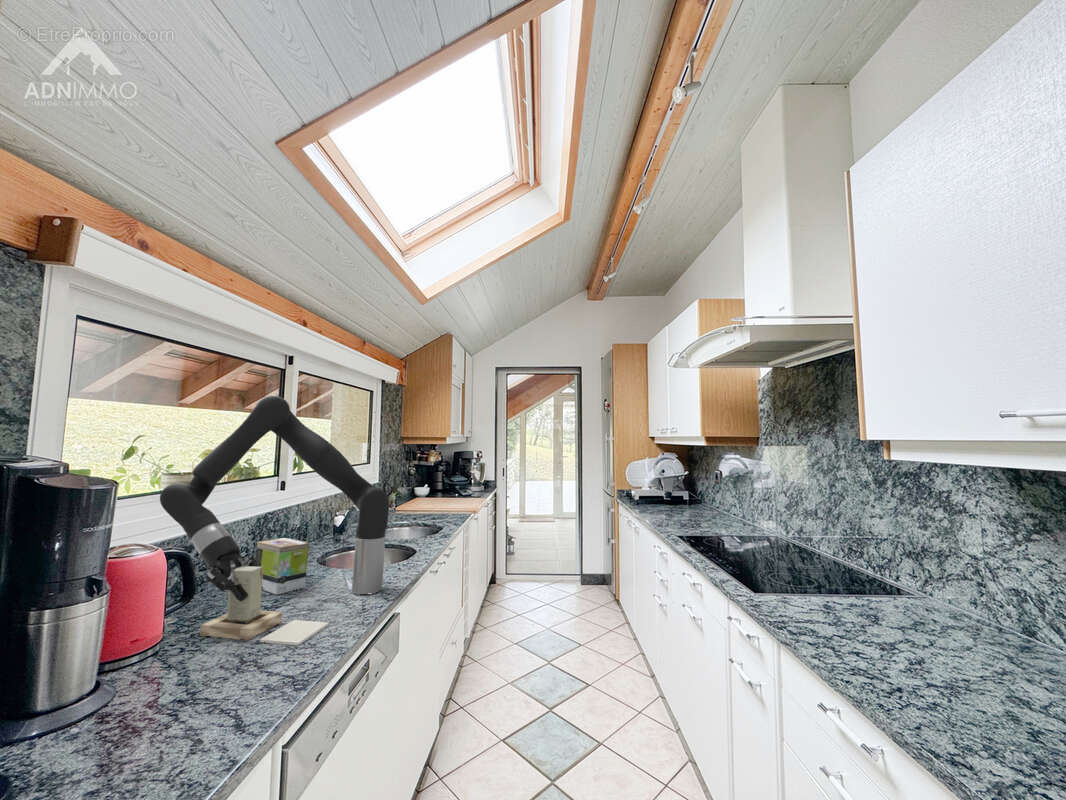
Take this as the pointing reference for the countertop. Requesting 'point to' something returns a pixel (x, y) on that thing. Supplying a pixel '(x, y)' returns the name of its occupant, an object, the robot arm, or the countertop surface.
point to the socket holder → (240, 626)
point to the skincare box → (253, 586)
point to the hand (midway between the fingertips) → (252, 595)
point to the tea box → (282, 564)
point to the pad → (294, 632)
